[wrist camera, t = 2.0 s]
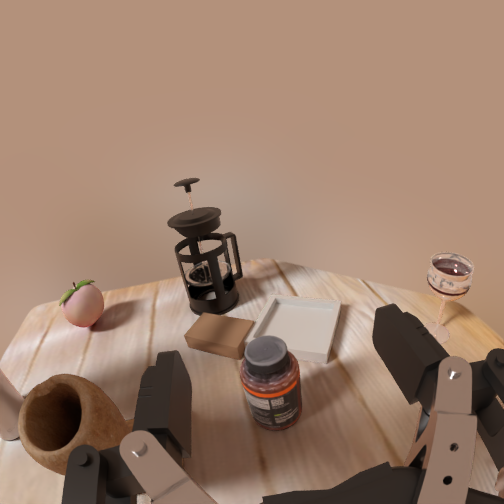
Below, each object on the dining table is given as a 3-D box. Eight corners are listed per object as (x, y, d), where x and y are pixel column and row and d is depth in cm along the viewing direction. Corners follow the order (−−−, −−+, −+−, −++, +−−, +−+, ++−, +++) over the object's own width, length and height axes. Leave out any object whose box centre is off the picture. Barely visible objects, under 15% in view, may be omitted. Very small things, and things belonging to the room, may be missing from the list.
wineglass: (461, 330, 35) (480, 262, 30) (442, 355, 32) (464, 283, 27) (428, 313, 40) (442, 247, 35) (407, 334, 38) (420, 264, 32)
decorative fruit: (93, 343, 46) (70, 298, 41) (69, 335, 48) (47, 294, 44) (120, 313, 54) (102, 270, 49) (95, 309, 56) (77, 269, 52)
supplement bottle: (278, 385, 34) (268, 319, 29) (312, 409, 30) (312, 345, 25) (241, 412, 31) (221, 349, 26) (275, 441, 27) (263, 384, 22)
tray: (245, 350, 41) (243, 340, 40) (272, 303, 51) (271, 293, 50) (326, 363, 36) (327, 353, 35) (340, 310, 46) (341, 300, 45)
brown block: (188, 347, 43) (184, 335, 42) (206, 323, 48) (203, 312, 47) (240, 359, 39) (236, 347, 38) (255, 333, 44) (253, 320, 43)
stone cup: (89, 515, 17) (-7, 453, 10) (80, 439, 27) (13, 362, 20) (211, 492, 21) (152, 428, 15) (180, 414, 32) (134, 326, 25)
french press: (198, 325, 48) (161, 193, 38) (180, 301, 55) (147, 186, 45) (256, 298, 53) (235, 172, 43) (232, 279, 60) (210, 168, 50)
